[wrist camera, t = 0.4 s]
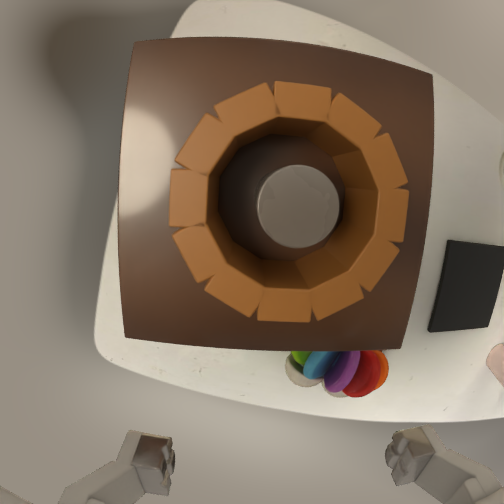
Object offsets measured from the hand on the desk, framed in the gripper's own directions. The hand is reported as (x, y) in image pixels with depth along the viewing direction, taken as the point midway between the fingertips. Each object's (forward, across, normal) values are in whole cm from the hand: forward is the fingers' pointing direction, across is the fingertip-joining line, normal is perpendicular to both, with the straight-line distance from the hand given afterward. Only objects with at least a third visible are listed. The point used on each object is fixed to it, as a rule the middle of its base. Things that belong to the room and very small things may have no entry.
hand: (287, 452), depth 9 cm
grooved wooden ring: (+4, 0, -8) cm, 9 cm away
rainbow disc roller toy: (+19, -7, +6) cm, 21 cm away
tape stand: (+19, 0, -8) cm, 20 cm away
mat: (+18, -23, 0) cm, 30 cm away
